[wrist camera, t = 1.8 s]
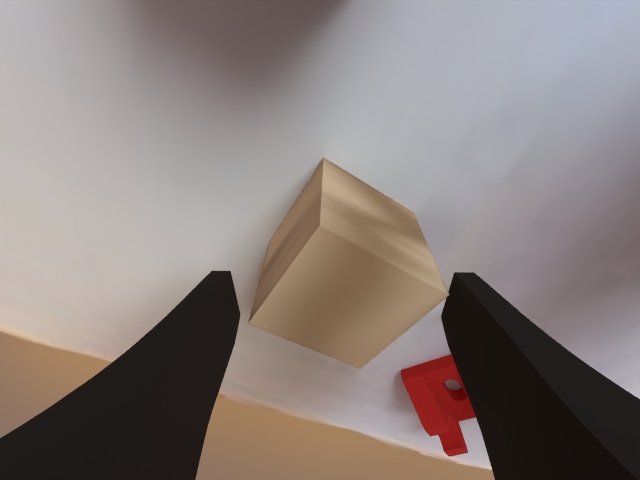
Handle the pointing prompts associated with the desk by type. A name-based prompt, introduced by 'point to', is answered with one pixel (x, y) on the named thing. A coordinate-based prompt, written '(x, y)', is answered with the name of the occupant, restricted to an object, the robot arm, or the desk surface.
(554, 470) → the robot arm
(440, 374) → the bracket
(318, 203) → the birch block
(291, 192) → the desk surface
